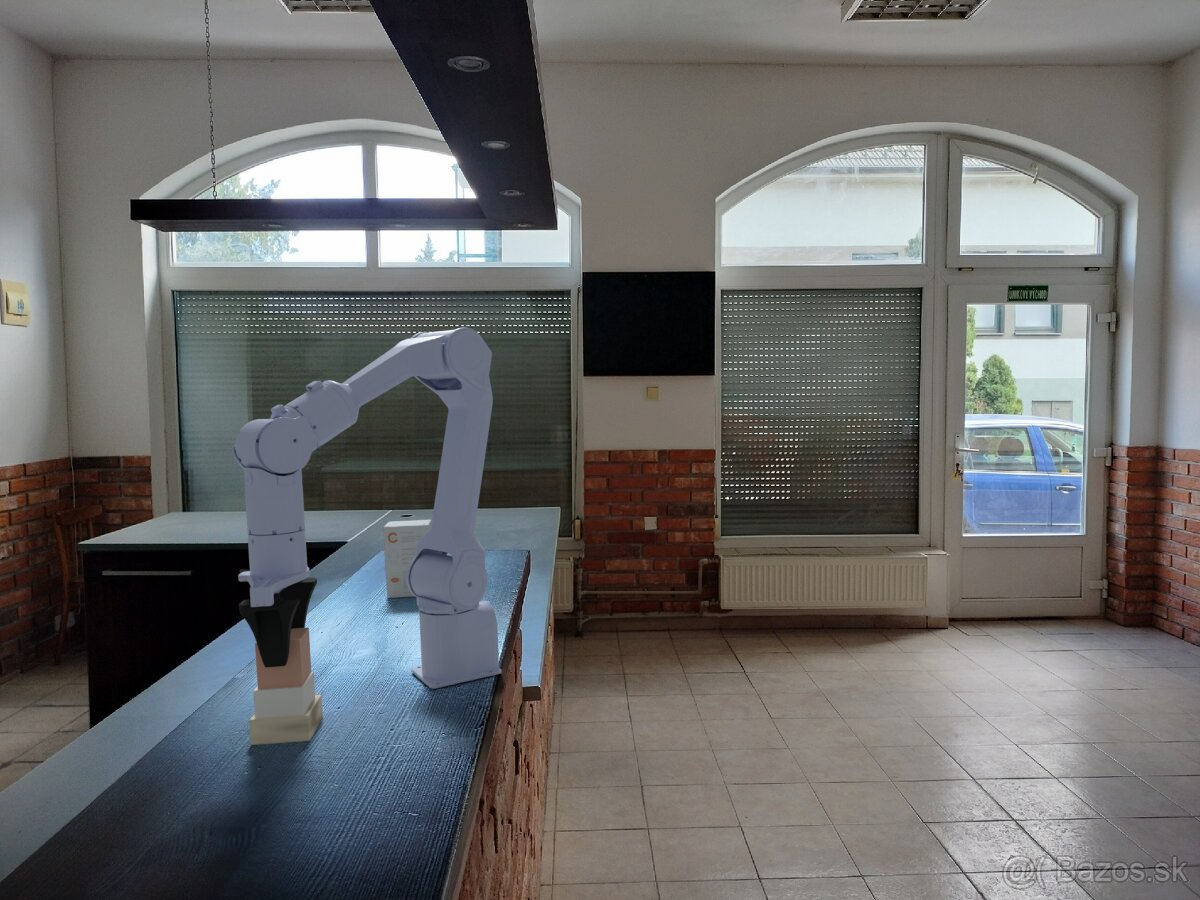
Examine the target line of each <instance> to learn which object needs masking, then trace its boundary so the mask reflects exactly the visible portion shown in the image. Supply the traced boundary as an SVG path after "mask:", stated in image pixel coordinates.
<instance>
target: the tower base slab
mask: <svg viewBox="0 0 1200 900" xmlns="http://www.w3.org/2000/svg"><path fill="white" fill-rule="evenodd" d="M322 698H323V697H322V694H315V699H314V700H313V702H312V704H311V705H310V707H309V708H308V710H307V712H306V713H305V715H298V716H285V717H271V718H257V719H255V712H254V713H253V715H252V716H251V717H250V719H249V720H248V721H249V735H250V737H249V738H250V745H252V746H253V745H266V744H267V745H268V744H270V745H271V744H282V743H283V744H284V743H294V742H295V743H299V742H306V741H307V742H308V741H311V740H312V738H313V737H314V735H315V732H316V731H317V729H318V727H319V726H320V724H321V722H322V720H323V718H324V716H323V715H324V713H323V699H322Z"/></svg>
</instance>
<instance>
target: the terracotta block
mask: <svg viewBox="0 0 1200 900" xmlns="http://www.w3.org/2000/svg"><path fill="white" fill-rule="evenodd" d="M310 642H311V641H310V628H309V627H305V628H295V629H291V633H290V646H289V655H288V660H287V664H286V665H285V666H281V667H265V666H264V664H263V661H262V658H261V655H260V652H259V649H258V646H257V642H256V641H255V642H254V647H255V662H256V663H255V664H256V678H257V679H256V680H257V686H258V689H269V688H282V687H296V686H303V684H304V683H305V681H306V679H307V678H308V676H309V675H310V673H311V671H312V660H311V659H312V658H311V645H310V644H311V643H310Z"/></svg>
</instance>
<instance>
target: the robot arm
mask: <svg viewBox="0 0 1200 900" xmlns="http://www.w3.org/2000/svg"><path fill="white" fill-rule="evenodd" d="M492 357H493V352H492V350H491V349H490V347H489V346H488V344H487V343H486V341H485V340H484V339H483V337H482V336H481V335H480V333H479V332H478V331H476V330H475V329H473V328H470V327H465V326H464V327H459V328H456V329H451V330H450V329H449V330H440V331H432V332H430V331H428V332H427V331H422V332H418V333H417V332H416V334H414V335H412V336H411V337H410V338H405V339H403V340H401V341H399V342H398V343H397V344H395V346H393V347H392V348H391V349H388V350H387V351H386V352H384V354H382V355H379V357H377V358H375V360H374V361H372V362H371V363H369V364H367V365H366V366H364V367H363V368H362V369H361V370H359V371H358V372H356V373H354V374H353V375H351V376H350V377H349V378H347V379H346V380H345V381H343V382H342V383H341V382H337V381H334V380H330V379H329V380H324V381H323V382H322V381H321V380H313V381H312V382H310V383H308V384H307V385H305V389H306V390H307V391H306V392H304V393H303V394H302V395H300V396H298V397H296V398H294V399H293V400H291V401H290V402H288V403H287V404H285V405H284V404H277V405H275V406H273V407H271V409H270V411H271V415H270V417H269V418H257V419H253V420H251V421H249V422H247V423H246V424H245V425H243V426H242V427H241V428H240V430H239V432H240V433H239V434H237V435H236V439H235V442H234V445H232V446H231V453H232V455H233V458H234V460H235V462H236V463H237V464H238V465H239V467H241V469H242V470H243V473H244V474H243V475H244V495H245V497H244V499H245V512H246V513H245V514H246V515H245V516H246V527H247V528H246V529H247V531H246V532H247V539H248V541H247V543H248V546H247V547H248V560H249V561H248V562H249V563H248V564H249V570H247V571H243V572H242V571H241V572H240V573H239V574H238V575H237V576H238V581H239V582H248V584H249V585H250V587H249V597H250V599H244V600H242V601H241V602H240V603H239V604H238V609H239V614H240V615H241V616H242V617H243V619H244V620H245V621H246V623H247V624H248V627H249V628H250V630H251V632H252V634H253V636H254V639H255V642H257V646H258V649H259V652H260V655H261V658H262V661H263V664H264V666H265V667H281V666H285V665H286V664H287V660H288V655H289V646H290V633H291V629H295V628H306V622H307V614H308V609H309V605H310V602H311V599H312V596H313V593H314V591H315V588H316V586H317V583H318V578H317V577H313V576H311V577H310V567H308V566H309V565H308V557H307V541H306V540H307V539H306V523H305V522H306V521H305V507H304V506H305V505H304V504H305V501H304V491H303V490H304V487H303V471H302V469H304V468H305V467H306V466H307V464H308V463H309V461H310V459H311V457H312V453H313V452H314V451H316V450H317V449H318V448H321V446H323V445H325V444H326V443H328V442H329V441H330V440H332V439H334V438H335V437H336V436H338V435H339V434H341V433H342V432H344V431H345V430H347V429H348V428H350V427H351V426H354V425H355V423H357V421H358V418H359V412H360V408H361V407H362V406H364V405H365V404H367V403H370V402H371V401H372V400H374V399H377V397H379V396H381V395H382V394H384V393H386V392H388V391H390V390H391V389H393V388H394V387H397V386H398V385H400V384H402V383H403V382H404V381H407V380H409V379H410V378H412V377H414V378H415V379H417V380H418V381H419V382H420V383H422V384H423V386H425V387H426V388H428V389H429V390H431V391H432V392H433V393H435V394H436V395H438V396H439V398H440V400H441V401H442V402H443V404H444V405H445V406H446V407H447V409H448V411H447V412H448V413H447V419H446V425H445V433H444V439H443V446H442V452H441V459H440V465H439V472H438V479H437V486H436V490H435V491H436V492H435V499H434V505H433V510H432V511H433V512H432V519H431V520H432V524H431V529H430V530H429V531H428V532H427V533H426V534H425V535H424V536H423V537H422V538H421V539H420V540H419V541H418V543H417V549H416V553H415V555H414V558H413V559H412V561H411V562H410V564H409V566H408V569H407V573H406V583H407V586H408V589H409V591H410V592H411V593H412V594H413V595H414V596H415V598H416V606H418V613H419V615H418V616H419V617H418V618H419V635H420V636H419V637H420V638H419V641H420V656H421V657H420V659H421V665H419V666H414V667H412V668H411V669H410V670H411V671H410V672H411V673H413V674H414V675H415V676H416V677H417V678H418V679H419V680H420V681H422V682H423V683H424V684H425V685H426V686H428V687H429V688H430V689H432V690H433V689H434V690H435V689H439V688H444V687H448V686H452V685H457V684H461V683H465V682H470V681H475V680H479V679H483V678H488V677H492V676H495V675H496V676H497V675H500V674H502V669H501V668H500V659H499V633H498V621H497V620H498V619H497V615H496V612H495V609H494V608H493V606H492V604H491V603H490V602H489V601H487V600H483V598H484V596H485V594H486V592H487V587H488V574H487V569H486V554H487V552H486V550H485V548H484V546H483V545H482V544H481V542H480V541H479V540H478V538H477V537H476V535H475V527H476V523H477V522H476V521H477V514H478V507H479V500H480V495H481V494H480V493H481V486H482V480H483V479H482V478H483V473H484V466H485V459H486V454H487V451H486V450H487V445H488V439H489V430H490V426H491V425H490V423H491V418H492V410H493V404H494V403H493V401H494V398H493V391H492V386H491V380H490V379H491V378H490V372H491V371H490V370H491V364H492Z"/></svg>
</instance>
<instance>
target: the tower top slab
mask: <svg viewBox="0 0 1200 900" xmlns="http://www.w3.org/2000/svg"><path fill="white" fill-rule="evenodd" d="M315 682H316V681H315V670H314V671H312V670H311V673H310V675H309V676H308V678H307V679H306V681H305V683H304V684H303V686H296V687H282V688H269V689H258V685H257V686H256V687H255V688H254V690H253V705H254V707H253V708H254V713H255V719H257V718H271V717H285V716H298V715H305V713H306V712H307V710H308V708H309V707H310V705H311V704H312V702H313V700H314V699H315V695H316V686H315Z"/></svg>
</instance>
